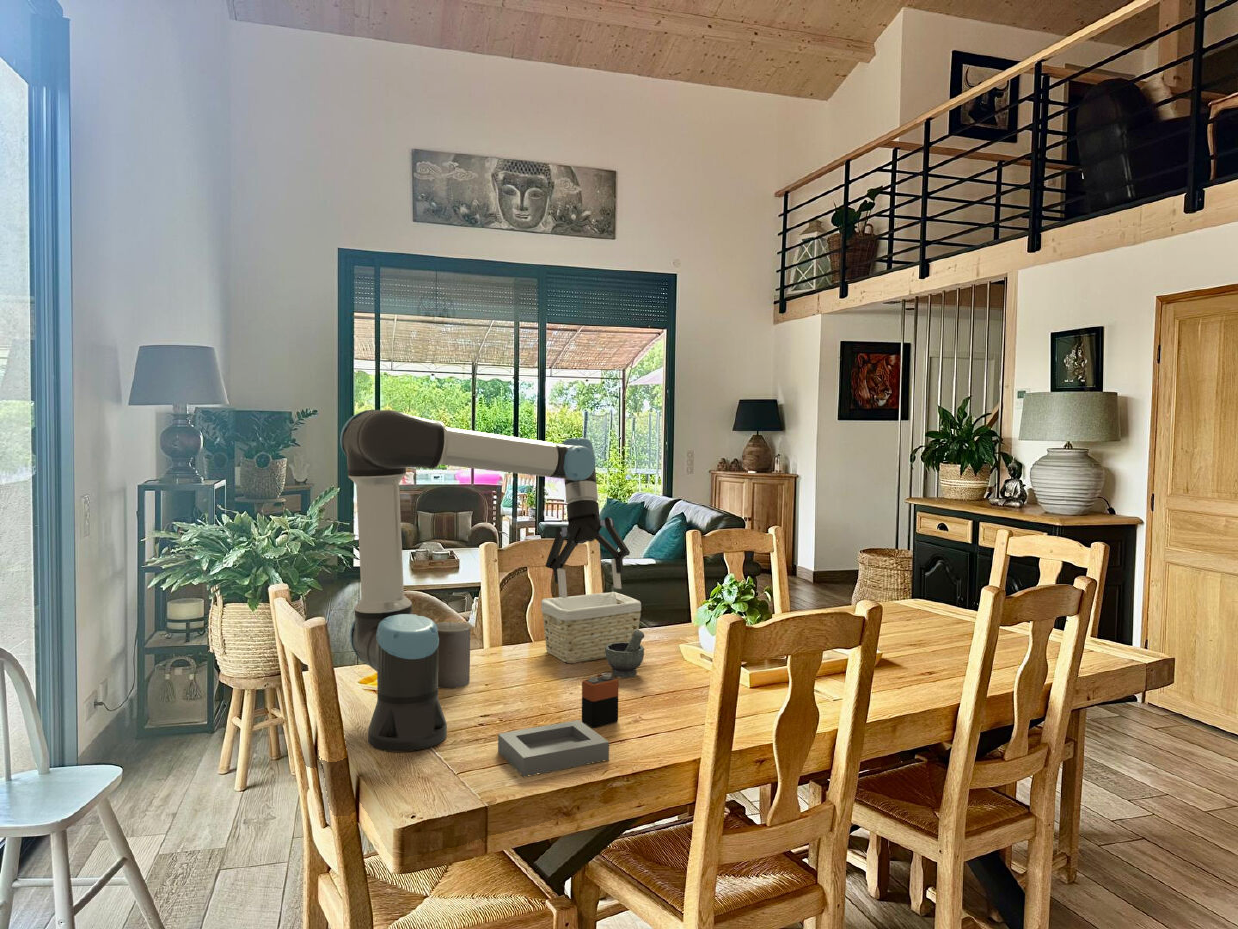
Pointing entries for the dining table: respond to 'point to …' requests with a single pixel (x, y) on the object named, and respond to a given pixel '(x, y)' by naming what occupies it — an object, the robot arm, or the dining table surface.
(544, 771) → the tray
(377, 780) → the dining table surface
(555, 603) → the storage basket
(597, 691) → the battery
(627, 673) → the mortar and pestle
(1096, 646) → the dining table surface
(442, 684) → the pillar candle
